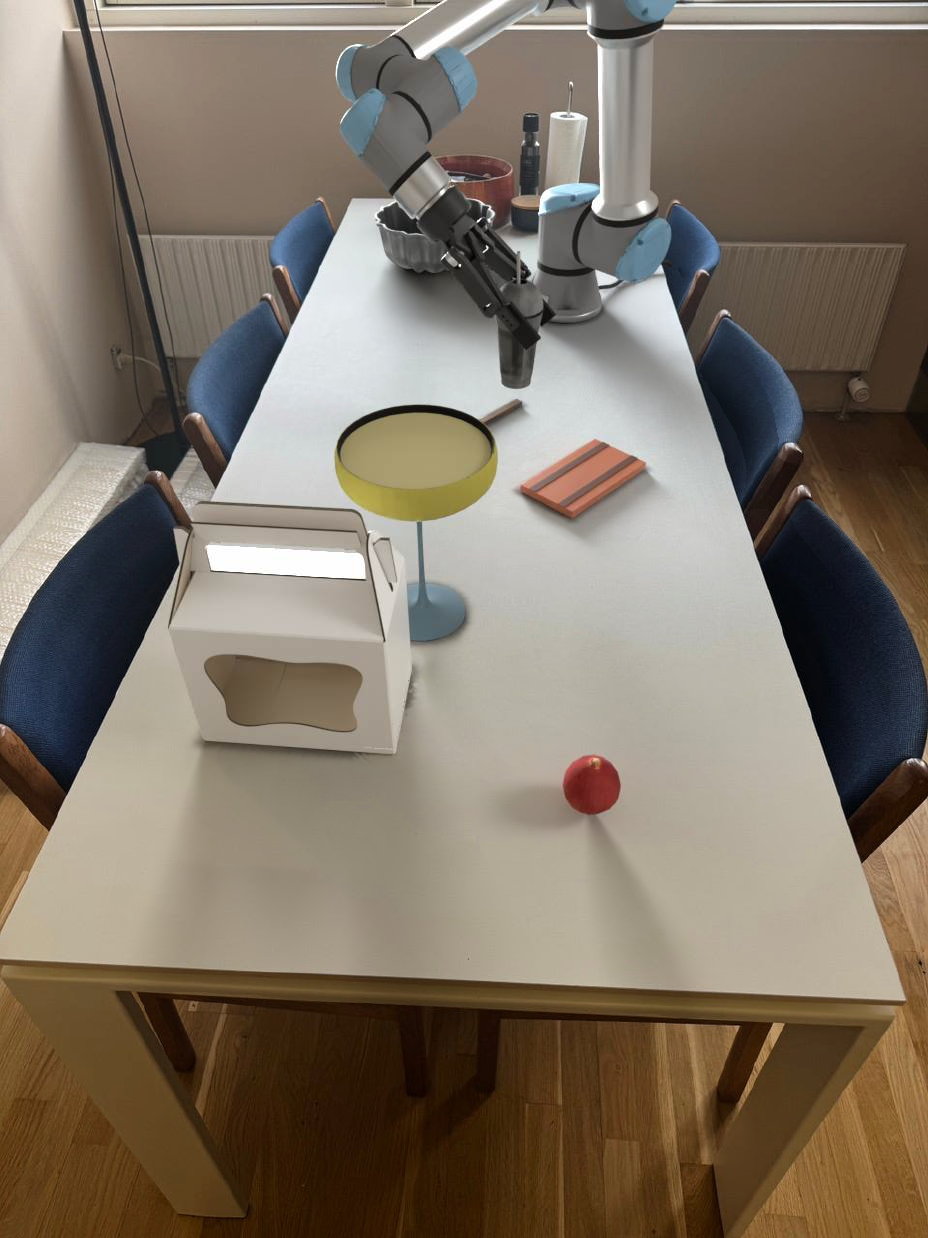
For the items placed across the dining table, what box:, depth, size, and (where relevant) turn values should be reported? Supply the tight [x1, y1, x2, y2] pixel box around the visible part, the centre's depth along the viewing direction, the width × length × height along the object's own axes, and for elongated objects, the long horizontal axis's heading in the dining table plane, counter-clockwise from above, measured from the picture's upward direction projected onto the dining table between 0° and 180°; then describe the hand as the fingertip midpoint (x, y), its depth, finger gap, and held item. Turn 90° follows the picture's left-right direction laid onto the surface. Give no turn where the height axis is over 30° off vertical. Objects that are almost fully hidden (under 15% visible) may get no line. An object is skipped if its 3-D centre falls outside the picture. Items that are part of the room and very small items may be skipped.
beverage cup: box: [494, 250, 544, 390], centre depth 130 cm, size 7×7×20 cm
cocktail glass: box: [333, 403, 499, 642], centre depth 107 cm, size 18×18×25 cm
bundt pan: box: [374, 197, 496, 274], centre depth 199 cm, size 26×26×10 cm
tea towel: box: [520, 438, 647, 519], centre depth 137 cm, size 18×10×1 cm, turn 136°
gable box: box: [167, 500, 413, 755], centre depth 95 cm, size 22×13×28 cm, turn 85°
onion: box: [562, 754, 622, 816], centre depth 91 cm, size 6×6×8 cm
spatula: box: [477, 398, 523, 426], centre depth 149 cm, size 21×6×1 cm, turn 136°
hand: (541, 331), depth 130 cm, fingers closed on beverage cup, 7 cm apart
